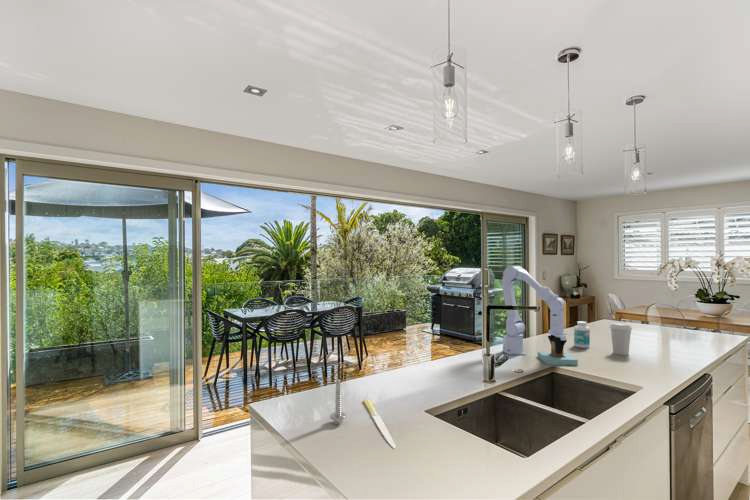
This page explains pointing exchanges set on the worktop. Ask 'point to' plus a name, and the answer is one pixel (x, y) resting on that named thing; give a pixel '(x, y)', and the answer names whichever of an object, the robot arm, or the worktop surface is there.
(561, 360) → the socket plate
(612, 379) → the worktop surface
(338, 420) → the screw
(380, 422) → the knife
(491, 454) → the worktop surface
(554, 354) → the walnut peg
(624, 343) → the coffee cup
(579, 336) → the pill bottle
